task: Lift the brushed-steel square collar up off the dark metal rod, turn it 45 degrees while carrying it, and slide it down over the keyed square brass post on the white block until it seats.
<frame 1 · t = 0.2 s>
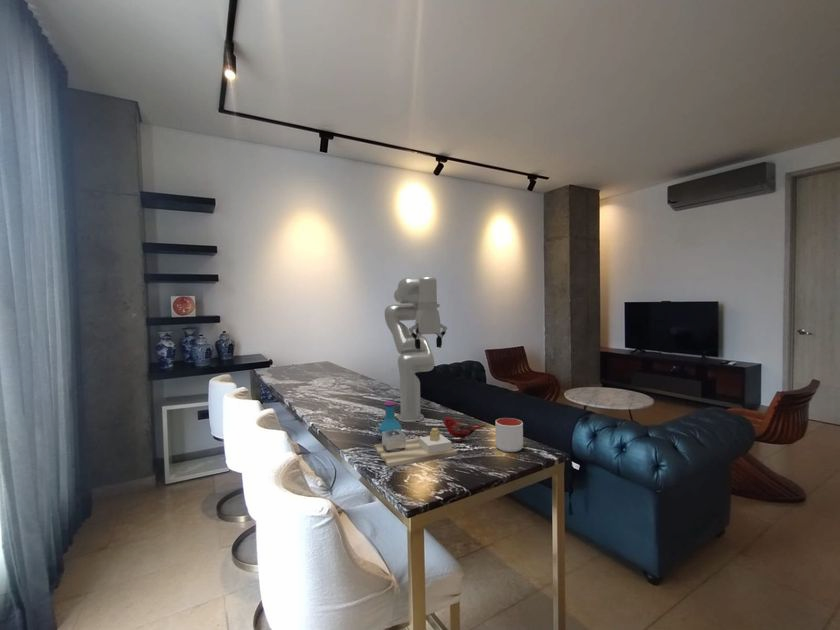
hand: (428, 348, 157), 36 cm above the table, tool pointing down, fingers open, 9 cm apart
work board: (414, 451, 140), on the table
rod stand: (393, 451, 140), resting on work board
decorative bird figurine: (464, 441, 150), on the table
perfume bottle: (390, 439, 155), on the table
steel collar: (393, 445, 140), point 2 cm above the table, touching rod stand
cup: (509, 448, 143), on the table
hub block: (435, 451, 140), resting on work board
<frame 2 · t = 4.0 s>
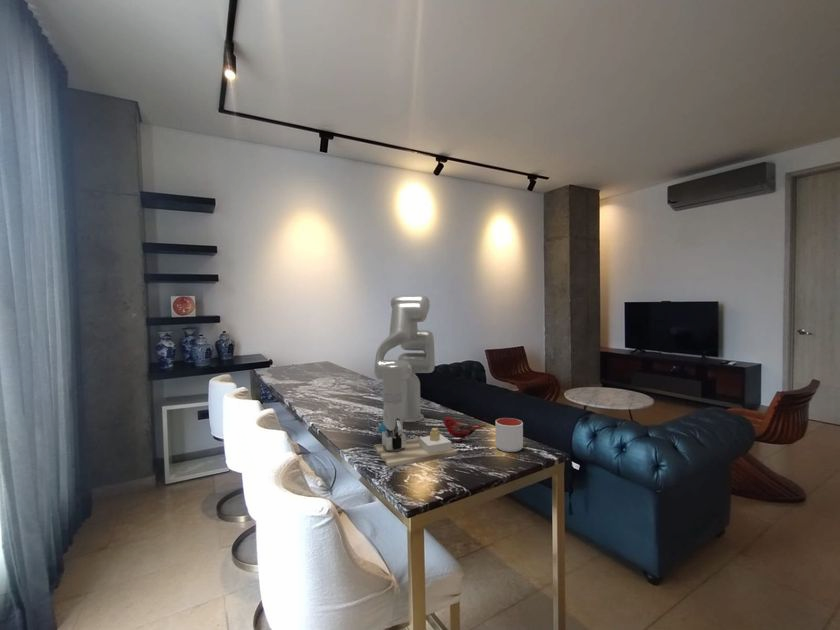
hand: (393, 444, 140), 3 cm above the table, tool pointing down, fingers closed on steel collar, 7 cm apart
steel collar: (393, 445, 140), point 2 cm above the table, touching gripper, rod stand
everything else where it was.
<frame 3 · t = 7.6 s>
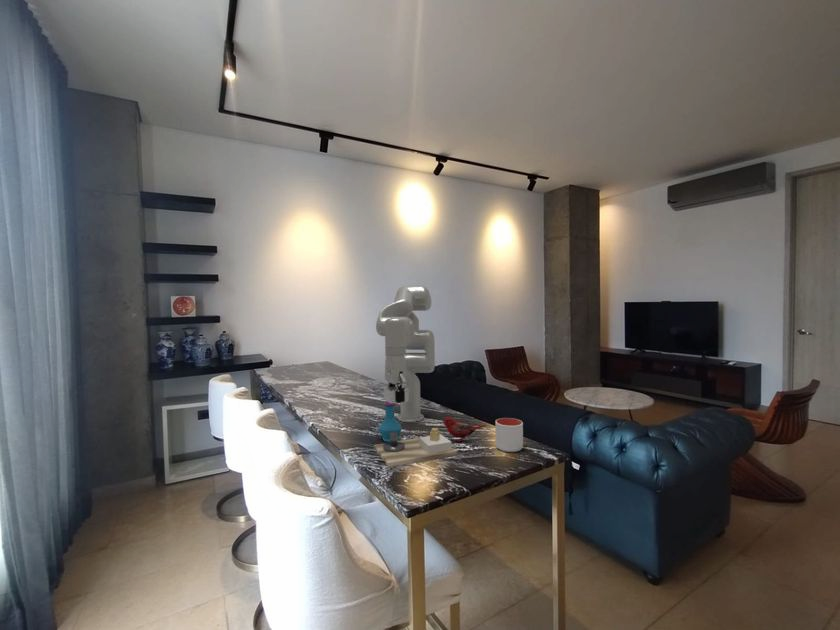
hand: (396, 399, 140), 20 cm above the table, tool pointing down, fingers closed on steel collar, 7 cm apart
steel collar: (396, 400, 140), point 19 cm above the table, touching gripper
everything else where it was.
when the fingers open (5 cm above the table, at t = 11.1 s): steel collar stays where it is, resting on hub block.
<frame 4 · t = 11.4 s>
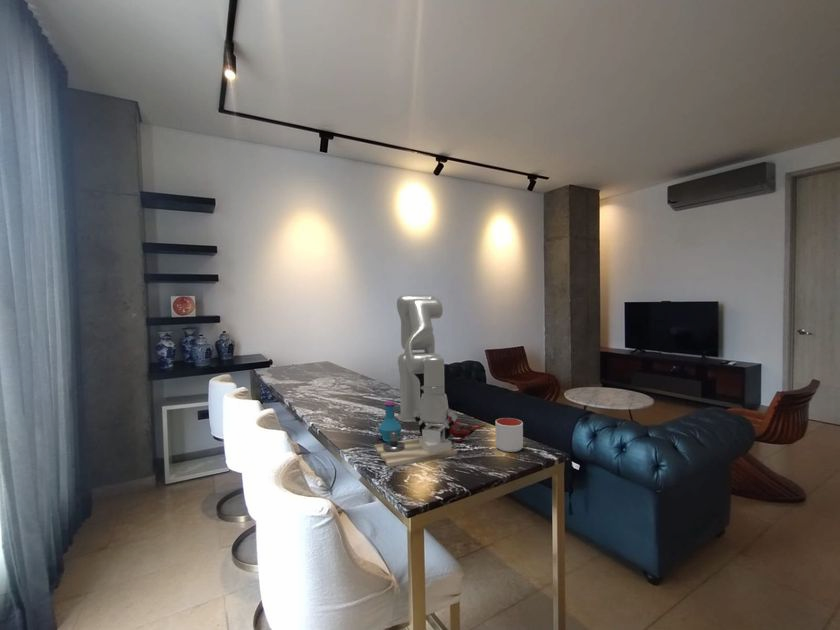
hand: (434, 436, 140), 6 cm above the table, tool pointing down, fingers open, 9 cm apart
steel collar: (434, 439, 140), point 4 cm above the table, touching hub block
everything else where it was.
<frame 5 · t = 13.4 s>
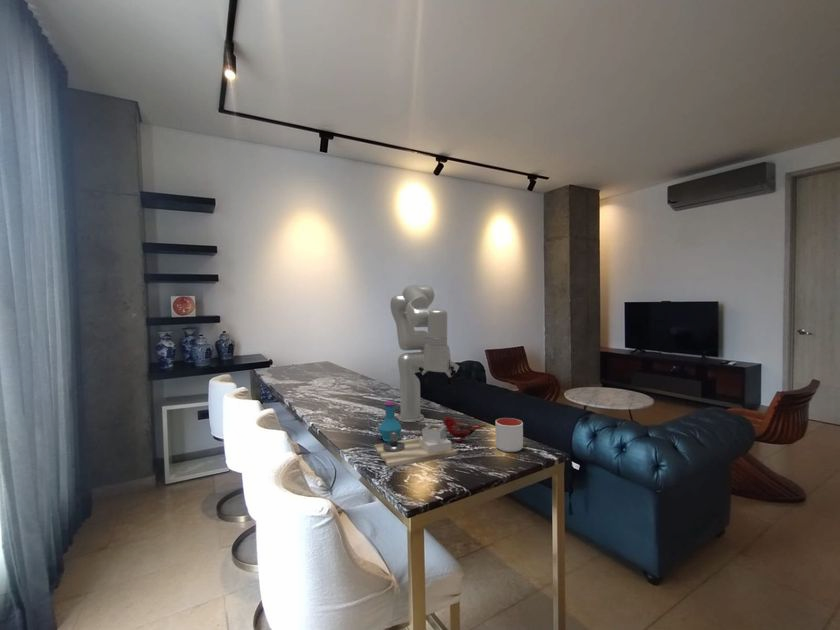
hand: (437, 385, 147), 23 cm above the table, tool pointing down, fingers open, 9 cm apart
nothing on the table moved.
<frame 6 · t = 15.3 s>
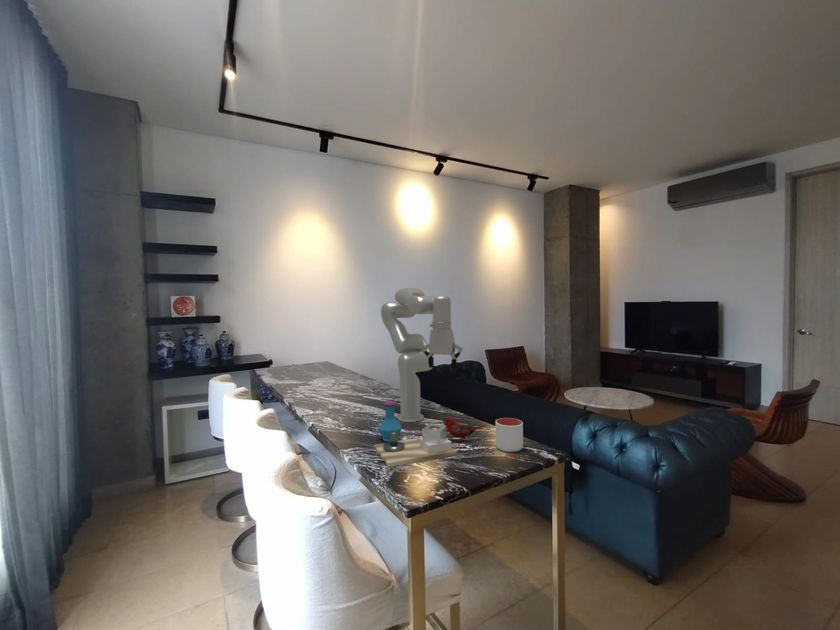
hand: (442, 367, 156), 28 cm above the table, tool pointing down, fingers open, 9 cm apart
nothing on the table moved.
at the end: steel collar 0.1 cm off-centre on the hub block, point 4.5 cm above the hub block's base; steel collar tilted 0°; the gripper is holding nothing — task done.
